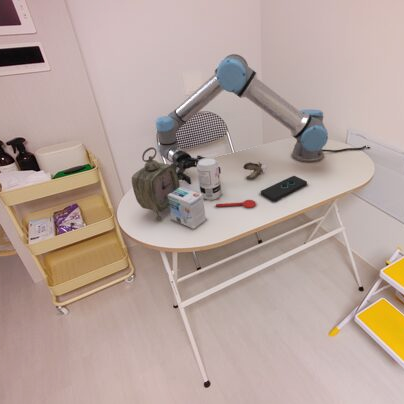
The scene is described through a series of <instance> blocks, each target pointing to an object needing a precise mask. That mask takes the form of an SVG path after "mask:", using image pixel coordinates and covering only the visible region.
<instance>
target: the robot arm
mask: <svg viewBox="0 0 404 404" xmlns="http://www.w3.org/2000/svg"><path fill="white" fill-rule="evenodd" d="M224 91H226V92H228V93H233V94H234V95H236V96H237V97H239V98H241V99H242V98H246V99H247V100H249V101H250V102H251V103H253V104H254V105H255V106H257V107H258V108H260V109H261V110H262V111H264V112H265V113H266V114H268V115H269V116H270V117H271V118H273V119H275V120H276V121H277V122H279V123H280V124H281V125H282V126H284V127H285V128H287V129H288V130H289V131H290V135H291V136H292V138H294V139H295V140H296V142H295V143H294V145H293V149H292V158H293V159H294V160H296V161H299V162H301V163H302V162H303V163H315V162H319V161H321V160H322V159H323V157H324V152H328V153H338V152H340V153H341V152H344V151H357V150H358V151H359V150H363V149H365V148H368V149H371V147H370V146H369V147H366V145H363V146H362V147H347V148H341V149H323V148H324V147H325V146H326V145H327V143H328V140H329V135H328V134H329V132H328V130H327V128H326V126H325V124H324V122H323V121H324V117H325V116H324V112H323V111H322V110H319V109H302V110H298V109H297V108H296V107H295V106H294V105H292V104H291V103H290V102H289V101H287V100H286V99H285V98H283V97H282V96H281V95H279V94H278V92H276V91H274V90H273V89H271V88H270V87H269V86H268V85H266V84H265V83H264V82H263V81H261V80H260V79H259V78H258V73H257V72H256V71H255V70H254V69H253V68H251V67H250V66H249V65H248V62H247V60H246V59H245V58H244V56H241V55H240V54H237V53H232V54H229V55H227V56H225V57H224V59H222V60H221V61H220V63H219V64H218V66H217V68H216V69H215V70H214V74H213V75H212V76H211V77H209V78H208V79H207V80H206V81H205V82H203V84H202V85H200V87H198V88H197V89H196V90H195V91H193V93H191V94H190V95H189V97H187V98H186V99H185V100H184V101H183V102H182V103H180V104H179V105H178V106H177V107H176V108H175V109H174V110H173V111H171V112H170V113H169V114H168V115H166V116H165V115H164V116H163V115H162V116H160V117H157V118H156V119H155V128H156V131H157V135H158V140H159V145H158V147H157V152H158V153H159V155H161V157H163V158H164V159H166V161H168V162H170V165H174V166H175V168H176V171H177V175H178V180H179V181H184V182H185V183H186V184H188V185H192V180H191V177H190V176H188V175H187V174H186V173H185V172H186V170H189V169H191V168H197V164H198V161H199V160H200V159H203V158H207V157H206V156H202V155H197V156H196V157H192V155H190V154H189V153H188V152H186V151H185V150H183V149H182V148H180V147H179V146H178V138H177V132H179V130H180V128H182V127H183V126H184V125H185V124H186V123H188V121H189V120H191V119H192V118H193V117H194V116H196V115H197V114H198V113H199V112H200V111H202V109H204V108H205V107H206V106H207V105H209V104H210V103H211V102H212V101H213V100H214V99H216V97H218V96H219V95H220V94H222V93H223V92H224ZM214 159H215V158H214ZM215 160H216V161H217V159H215ZM177 169H178V170H177ZM221 173H222V172H221V167H220V166H219V175H220V174H221Z"/></svg>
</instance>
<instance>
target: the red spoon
mask: <svg viewBox="0 0 404 404" xmlns="http://www.w3.org/2000/svg"><path fill="white" fill-rule="evenodd" d="M215 206H216V207H217V208H221V207H222V208H223V207H237V206H239V207H240V206H243V207H244V208H246V209H253V208H254V207H256V201H255V200H253V199H246V200H244V201H243V202H228V203H227V202H226V203H216V204H215Z"/></svg>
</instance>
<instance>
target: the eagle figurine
mask: <svg viewBox="0 0 404 404" xmlns="http://www.w3.org/2000/svg"><path fill="white" fill-rule="evenodd" d="M242 169H244V170H248V171H252V172H251V173H250V174H248V175H247V176H246V180H251V181H253V180H255V179H256V178H258V177H259V176H261V175H262V174H263V173H264V172H266V170H267V166H266V164H263V163H262V162H260V161H257V163H255V162H252V161H250V162H246V163H245V164H244V165H243V167H242Z"/></svg>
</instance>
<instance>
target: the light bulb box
mask: <svg viewBox="0 0 404 404" xmlns="http://www.w3.org/2000/svg"><path fill="white" fill-rule="evenodd" d="M168 200H169V205H170V206H169V211H170V214H171V219H172V221H175V222H177V223H180V224H182V225H184V226H186V227H188V228H190V229H192V230H193V229H196V228H197V227H199V225H201V224H203V223H204V222H205V221H207V217H206V216H207V215H206V210H205V201H204V198H203V194H201V193H200V192H196V191H194V190H191V189H188V188H186V187H183V186H179V188H178V189H176V190H175V191H173V192H172V193H170V194H168Z"/></svg>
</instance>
